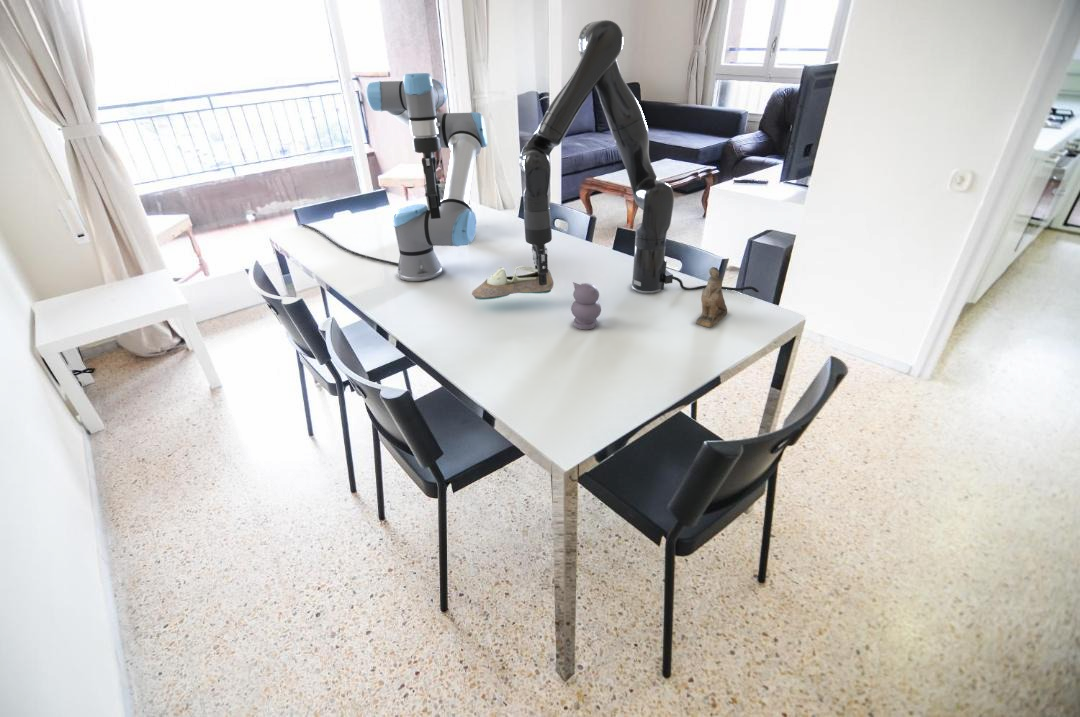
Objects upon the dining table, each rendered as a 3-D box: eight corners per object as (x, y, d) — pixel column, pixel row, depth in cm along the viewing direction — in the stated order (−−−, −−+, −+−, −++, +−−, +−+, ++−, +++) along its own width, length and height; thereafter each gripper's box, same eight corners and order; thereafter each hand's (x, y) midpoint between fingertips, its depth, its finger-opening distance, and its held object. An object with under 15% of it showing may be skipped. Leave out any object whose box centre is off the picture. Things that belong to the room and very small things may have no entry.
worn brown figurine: (709, 335, 136) (713, 280, 124) (691, 329, 139) (693, 274, 128) (730, 313, 142) (736, 258, 130) (712, 307, 145) (716, 253, 133)
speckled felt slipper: (471, 292, 152) (468, 266, 147) (550, 282, 154) (549, 257, 150) (473, 304, 145) (469, 277, 140) (555, 294, 147) (554, 267, 143)
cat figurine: (606, 323, 139) (608, 283, 132) (589, 334, 134) (589, 293, 128) (582, 314, 144) (583, 276, 138) (564, 324, 139) (564, 285, 133)
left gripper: (438, 141, 130) (448, 222, 141) (439, 130, 151) (448, 201, 162) (409, 143, 129) (422, 224, 140) (414, 131, 150) (425, 202, 161)
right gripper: (555, 230, 133) (558, 288, 142) (546, 216, 145) (549, 270, 154) (528, 233, 133) (532, 291, 141) (521, 218, 145) (525, 272, 154)
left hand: (436, 212), depth 151 cm, fingers open, 13 cm apart
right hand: (541, 280), depth 148 cm, fingers closed on speckled felt slipper, 6 cm apart
